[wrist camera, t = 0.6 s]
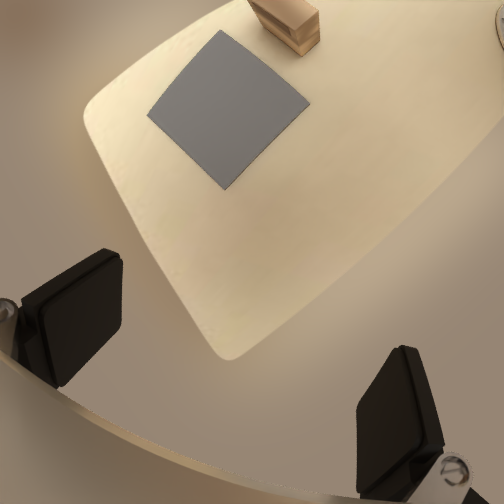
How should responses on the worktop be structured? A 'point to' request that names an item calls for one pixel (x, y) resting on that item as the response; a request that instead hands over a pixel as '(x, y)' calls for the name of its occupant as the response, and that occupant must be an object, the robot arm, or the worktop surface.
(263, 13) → the oak slab
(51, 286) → the robot arm
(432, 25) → the worktop surface
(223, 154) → the rubber mat
